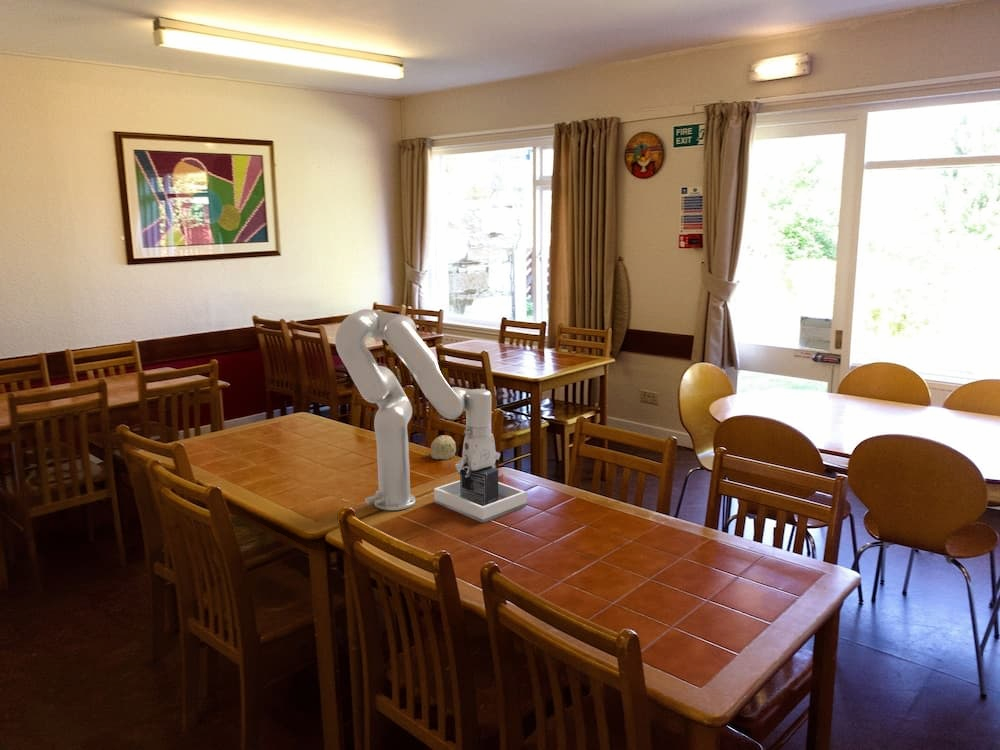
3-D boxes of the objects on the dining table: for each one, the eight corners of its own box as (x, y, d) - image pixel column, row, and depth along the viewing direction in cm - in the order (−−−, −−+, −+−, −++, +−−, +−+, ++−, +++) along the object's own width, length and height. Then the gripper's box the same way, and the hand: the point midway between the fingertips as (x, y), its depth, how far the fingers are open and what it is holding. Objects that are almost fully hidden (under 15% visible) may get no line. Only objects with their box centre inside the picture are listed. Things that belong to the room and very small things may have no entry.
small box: (499, 501, 217) (499, 468, 215) (486, 508, 212) (486, 474, 210) (472, 494, 223) (472, 462, 221) (459, 500, 218) (458, 467, 216)
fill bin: (482, 522, 204) (482, 508, 203) (434, 502, 220) (433, 488, 219) (526, 505, 216) (526, 491, 215) (477, 487, 232) (477, 474, 231)
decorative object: (437, 470, 259) (450, 450, 255) (420, 451, 263) (433, 431, 259) (453, 465, 267) (466, 446, 263) (436, 447, 271) (448, 428, 267)
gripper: (465, 438, 205) (464, 495, 208) (508, 428, 216) (507, 481, 220) (448, 433, 210) (448, 488, 213) (491, 422, 222) (490, 475, 225)
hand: (478, 484), depth 217 cm, fingers open, 9 cm apart
